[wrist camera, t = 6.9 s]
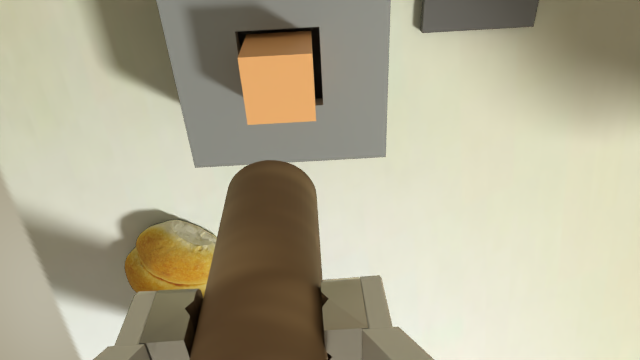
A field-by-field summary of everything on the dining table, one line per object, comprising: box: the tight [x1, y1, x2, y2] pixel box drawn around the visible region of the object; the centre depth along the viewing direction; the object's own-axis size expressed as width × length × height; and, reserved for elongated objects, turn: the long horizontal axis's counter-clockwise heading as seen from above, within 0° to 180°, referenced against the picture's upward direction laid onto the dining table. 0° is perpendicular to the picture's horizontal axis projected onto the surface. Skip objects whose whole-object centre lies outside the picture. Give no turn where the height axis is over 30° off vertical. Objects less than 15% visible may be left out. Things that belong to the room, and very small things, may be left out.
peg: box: [190, 160, 328, 360], centre depth 11 cm, size 3×3×10 cm
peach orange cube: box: [238, 31, 316, 125], centre depth 25 cm, size 4×4×4 cm
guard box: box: [156, 0, 391, 168], centre depth 29 cm, size 12×12×7 cm
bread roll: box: [125, 220, 217, 298], centre depth 41 cm, size 8×9×4 cm
